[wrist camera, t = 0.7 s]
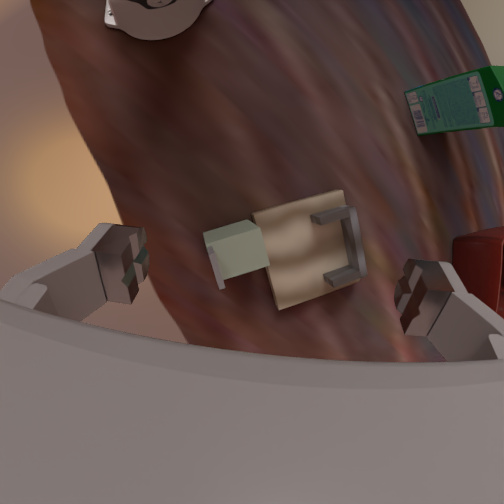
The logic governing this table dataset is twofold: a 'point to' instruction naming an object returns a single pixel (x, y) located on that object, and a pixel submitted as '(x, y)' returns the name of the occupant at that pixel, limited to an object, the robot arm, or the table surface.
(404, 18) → the table surface
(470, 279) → the plant pot
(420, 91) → the milk carton
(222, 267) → the pale green handled box
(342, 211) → the dock
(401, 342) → the table surface
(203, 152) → the table surface
